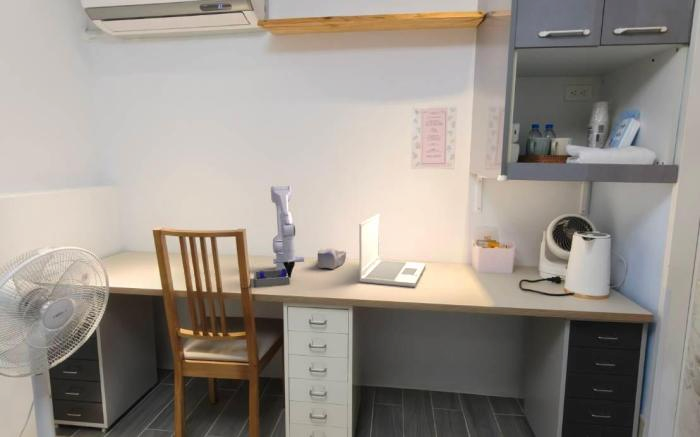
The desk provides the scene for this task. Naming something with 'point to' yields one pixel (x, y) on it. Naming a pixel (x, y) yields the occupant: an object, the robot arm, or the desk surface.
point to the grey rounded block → (331, 258)
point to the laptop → (382, 269)
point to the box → (268, 280)
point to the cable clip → (283, 274)
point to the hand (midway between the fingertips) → (289, 277)
